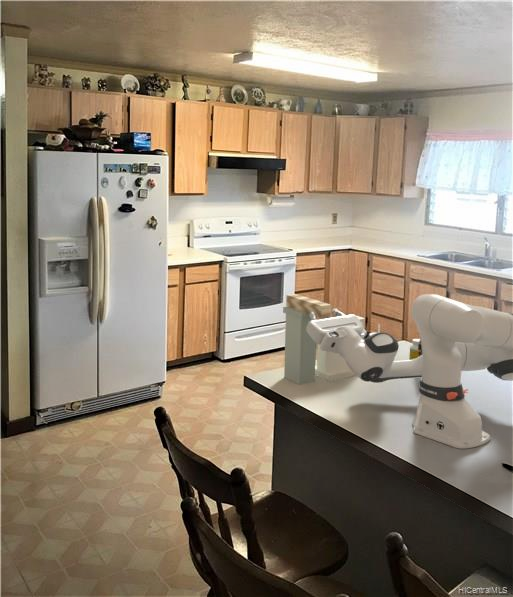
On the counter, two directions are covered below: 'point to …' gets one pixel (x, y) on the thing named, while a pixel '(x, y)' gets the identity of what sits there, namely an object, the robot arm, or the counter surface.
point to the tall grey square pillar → (299, 347)
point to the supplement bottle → (414, 349)
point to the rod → (308, 305)
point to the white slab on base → (333, 363)
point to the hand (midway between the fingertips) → (322, 311)
